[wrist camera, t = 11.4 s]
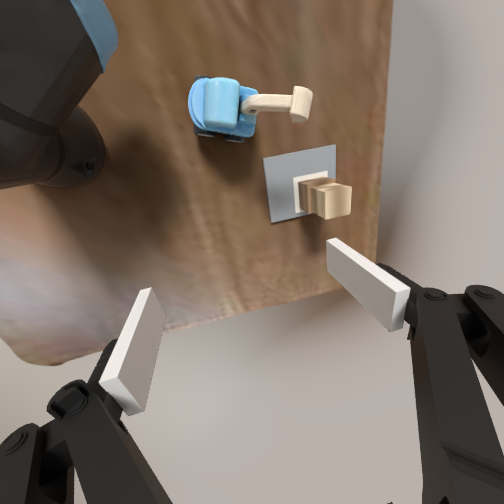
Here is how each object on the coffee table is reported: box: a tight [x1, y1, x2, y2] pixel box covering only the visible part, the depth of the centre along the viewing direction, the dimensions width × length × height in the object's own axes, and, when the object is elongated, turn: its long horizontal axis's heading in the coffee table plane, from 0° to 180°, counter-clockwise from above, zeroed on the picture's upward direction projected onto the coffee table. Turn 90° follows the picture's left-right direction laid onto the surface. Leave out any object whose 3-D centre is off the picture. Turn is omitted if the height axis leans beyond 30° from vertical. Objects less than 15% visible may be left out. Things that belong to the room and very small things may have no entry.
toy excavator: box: [188, 75, 313, 143], centre depth 33 cm, size 9×17×17 cm, turn 82°
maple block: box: [311, 183, 352, 219], centre depth 42 cm, size 5×5×6 cm
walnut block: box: [298, 177, 335, 214], centre depth 46 cm, size 6×6×5 cm
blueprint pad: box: [262, 144, 336, 223], centre depth 48 cm, size 16×14×1 cm
